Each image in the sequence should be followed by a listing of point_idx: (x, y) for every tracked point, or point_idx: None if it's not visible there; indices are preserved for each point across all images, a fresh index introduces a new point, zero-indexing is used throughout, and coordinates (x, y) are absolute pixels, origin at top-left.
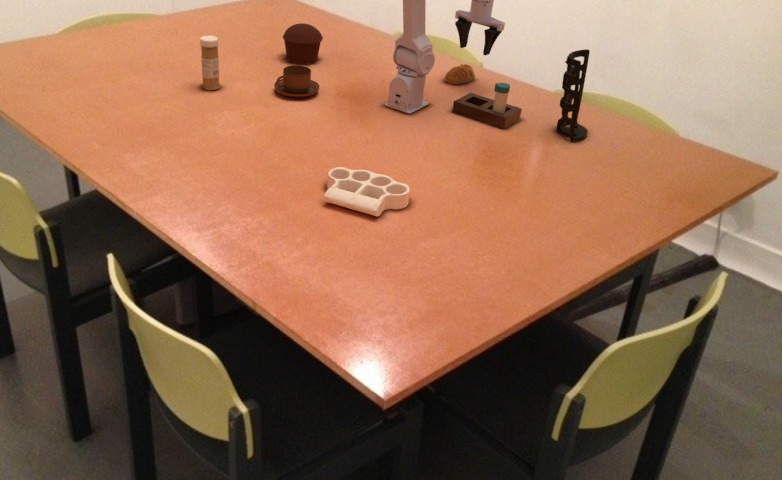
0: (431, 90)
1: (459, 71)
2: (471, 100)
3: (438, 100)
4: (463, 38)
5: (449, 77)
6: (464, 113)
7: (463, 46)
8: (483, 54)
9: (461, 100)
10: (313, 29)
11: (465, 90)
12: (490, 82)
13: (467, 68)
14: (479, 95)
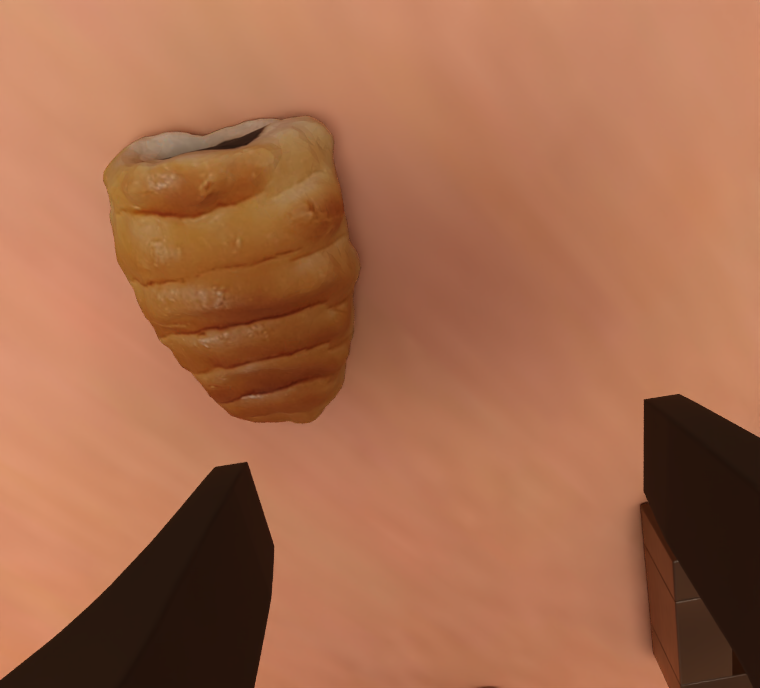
0: (328, 555)
1: (286, 345)
2: None
3: (481, 614)
4: (241, 656)
5: (282, 419)
6: None
7: (265, 536)
8: (648, 496)
9: (712, 682)
10: None
11: (461, 366)
12: (456, 4)
13: (276, 238)
14: None
